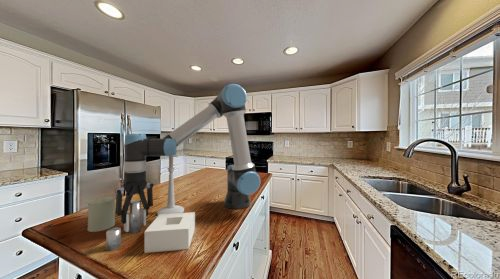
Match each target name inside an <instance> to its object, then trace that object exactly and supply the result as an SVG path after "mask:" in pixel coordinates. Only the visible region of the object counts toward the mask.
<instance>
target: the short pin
mask: <svg viewBox="0 0 500 279" xmlns="http://www.w3.org/2000/svg"><path fill="white" fill-rule="evenodd" d="M105 231H106V233H105V235H106V236H105V237H106V240H105V242H106V244H105V248H106V249H105V250H106V251H108V252H111V251H115V250H117V249H120V247H121V246H122V245H121V244H122V243H121V242H122V227H120V226H119V227H118V226H117V227H115V226H114V227H111V228H108V229H106V230H105Z"/></svg>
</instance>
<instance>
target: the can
mask: <svg viewBox="0 0 500 279" xmlns="http://www.w3.org/2000/svg"><path fill="white" fill-rule="evenodd" d="M115 210H116V196H102V197H97V198H93V199H90V200H89V201H87V232H91V233H97V232H101V231H107V230H109V229H111V228H113V227H115V225H116V218H115V217H116V216H115V215H116V214H115Z"/></svg>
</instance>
